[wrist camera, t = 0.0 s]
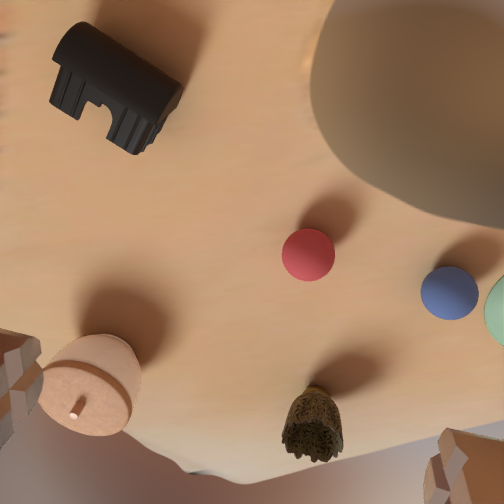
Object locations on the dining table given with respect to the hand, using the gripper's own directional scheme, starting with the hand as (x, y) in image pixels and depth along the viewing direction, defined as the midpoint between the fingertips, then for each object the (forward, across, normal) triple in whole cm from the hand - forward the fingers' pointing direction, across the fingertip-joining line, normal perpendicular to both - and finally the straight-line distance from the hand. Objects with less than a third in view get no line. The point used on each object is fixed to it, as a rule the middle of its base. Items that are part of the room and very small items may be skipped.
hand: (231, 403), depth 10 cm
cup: (+43, -7, +38) cm, 58 cm away
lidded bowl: (+43, +22, +39) cm, 62 cm away
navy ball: (+38, -17, +16) cm, 45 cm away
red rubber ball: (+38, -2, +15) cm, 41 cm away
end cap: (+40, +18, +1) cm, 43 cm away
